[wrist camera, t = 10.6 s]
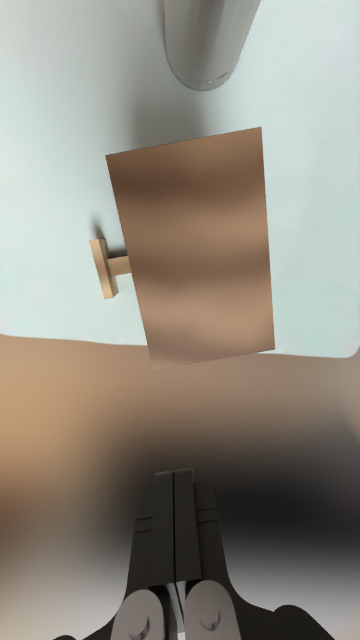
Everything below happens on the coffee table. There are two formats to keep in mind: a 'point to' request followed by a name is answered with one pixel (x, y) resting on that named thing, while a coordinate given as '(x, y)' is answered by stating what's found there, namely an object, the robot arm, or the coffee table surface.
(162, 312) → the wooden arch frame
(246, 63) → the coffee table surface
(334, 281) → the coffee table surface
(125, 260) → the drawer
